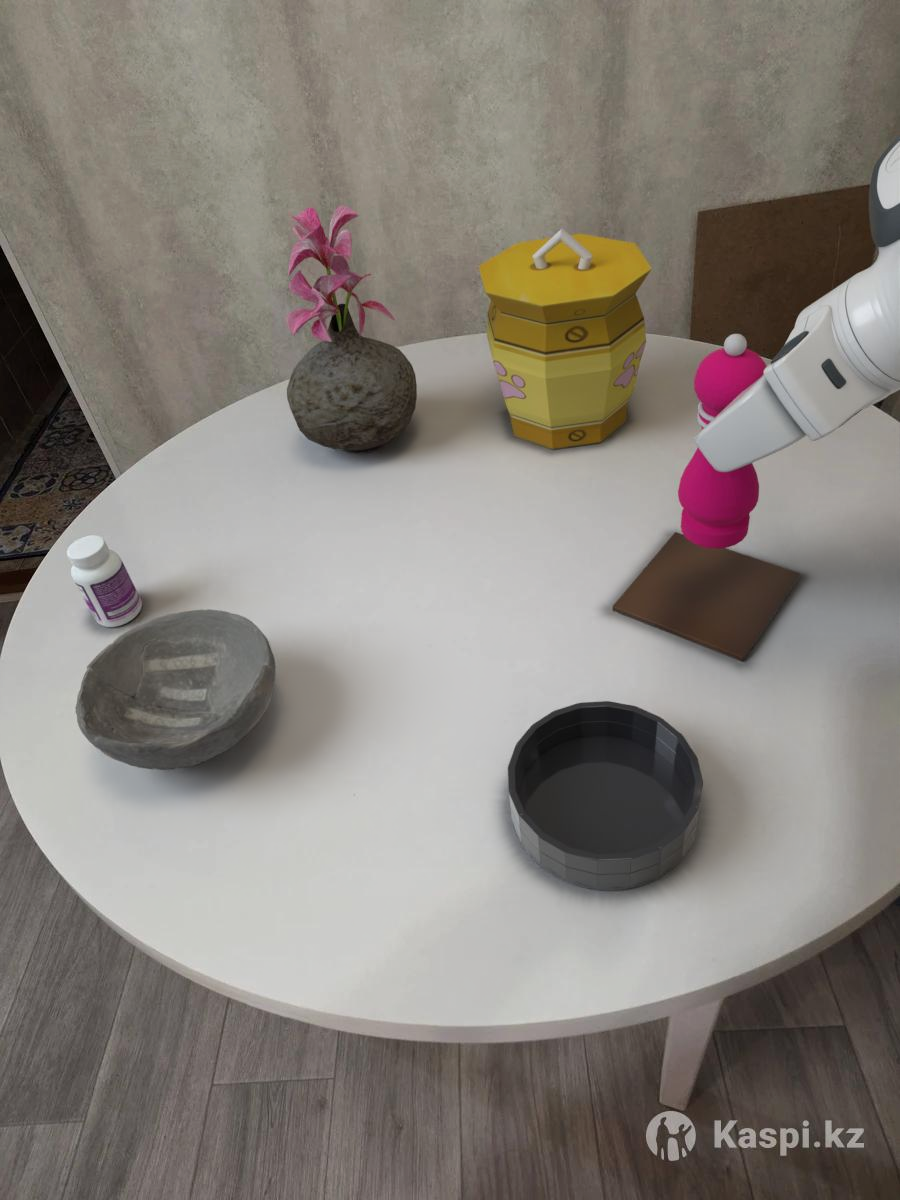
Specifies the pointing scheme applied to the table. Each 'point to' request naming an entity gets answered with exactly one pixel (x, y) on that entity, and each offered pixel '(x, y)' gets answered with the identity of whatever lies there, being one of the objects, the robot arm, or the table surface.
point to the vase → (343, 352)
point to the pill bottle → (103, 581)
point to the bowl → (177, 689)
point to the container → (566, 335)
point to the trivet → (708, 595)
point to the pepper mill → (705, 493)
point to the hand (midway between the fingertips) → (719, 426)
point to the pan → (604, 795)
